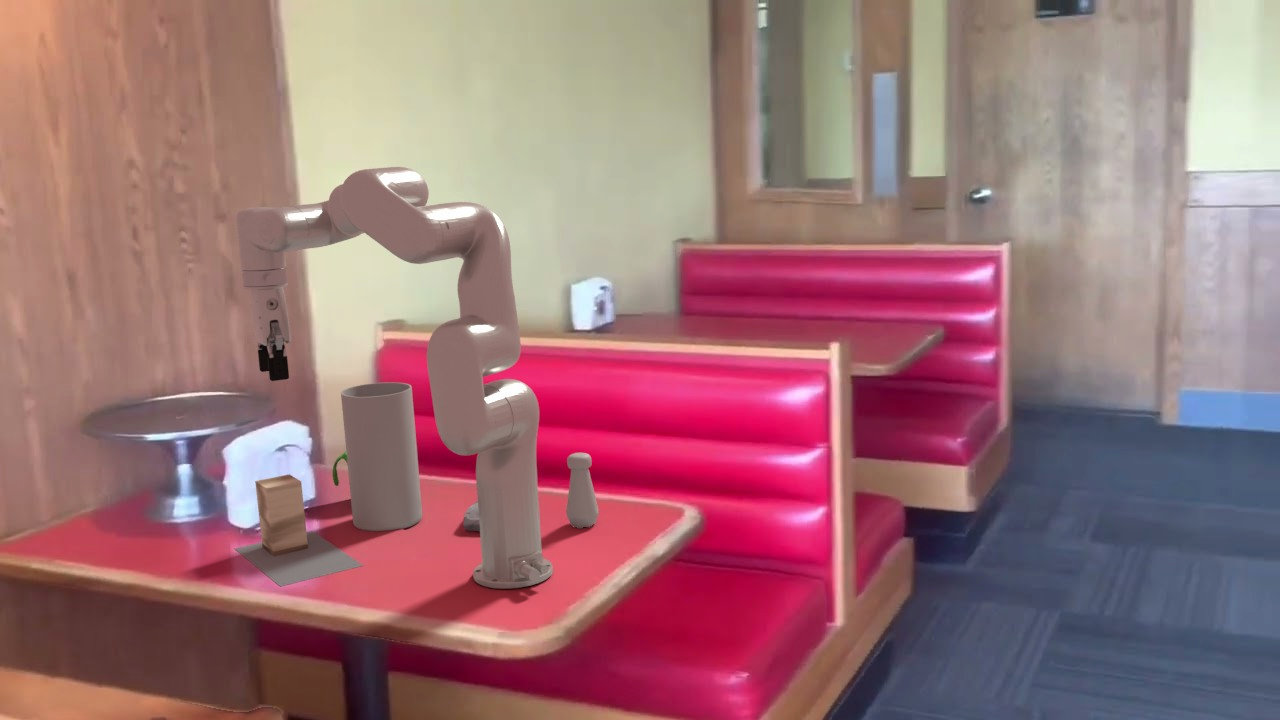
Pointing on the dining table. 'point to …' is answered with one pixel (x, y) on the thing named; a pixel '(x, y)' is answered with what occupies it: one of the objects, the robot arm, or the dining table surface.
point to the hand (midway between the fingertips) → (274, 375)
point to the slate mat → (300, 561)
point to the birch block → (281, 514)
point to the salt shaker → (581, 492)
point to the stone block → (472, 518)
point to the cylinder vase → (382, 456)
